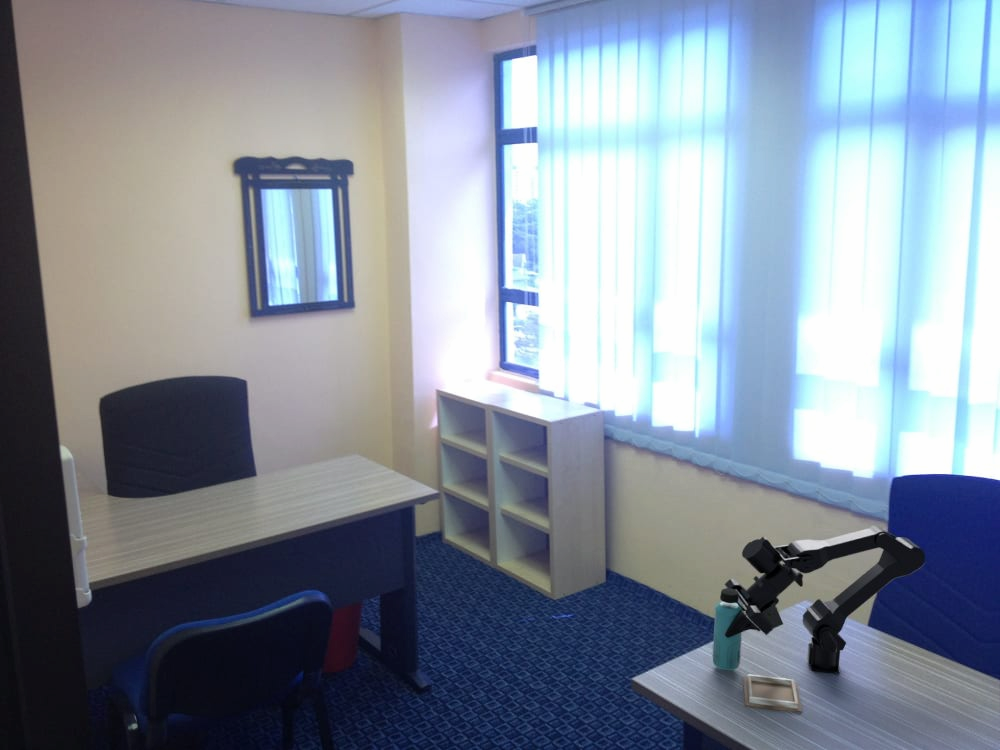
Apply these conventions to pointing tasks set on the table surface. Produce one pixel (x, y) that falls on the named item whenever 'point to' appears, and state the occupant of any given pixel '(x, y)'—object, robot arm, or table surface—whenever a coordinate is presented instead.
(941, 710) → the table surface
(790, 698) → the tray
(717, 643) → the beverage bottle
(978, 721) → the table surface
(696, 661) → the table surface
